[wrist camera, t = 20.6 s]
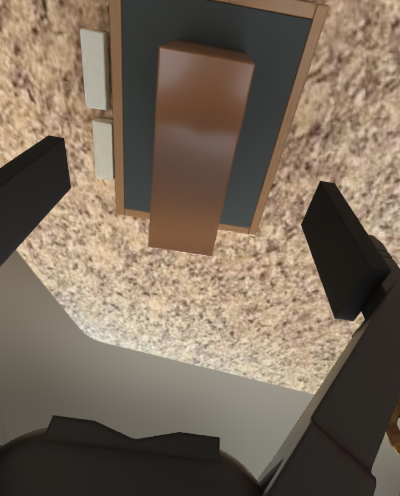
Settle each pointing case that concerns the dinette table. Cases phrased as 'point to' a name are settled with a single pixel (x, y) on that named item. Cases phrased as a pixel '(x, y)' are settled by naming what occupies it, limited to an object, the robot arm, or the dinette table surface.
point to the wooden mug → (394, 429)
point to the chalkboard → (258, 103)
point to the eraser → (195, 141)
